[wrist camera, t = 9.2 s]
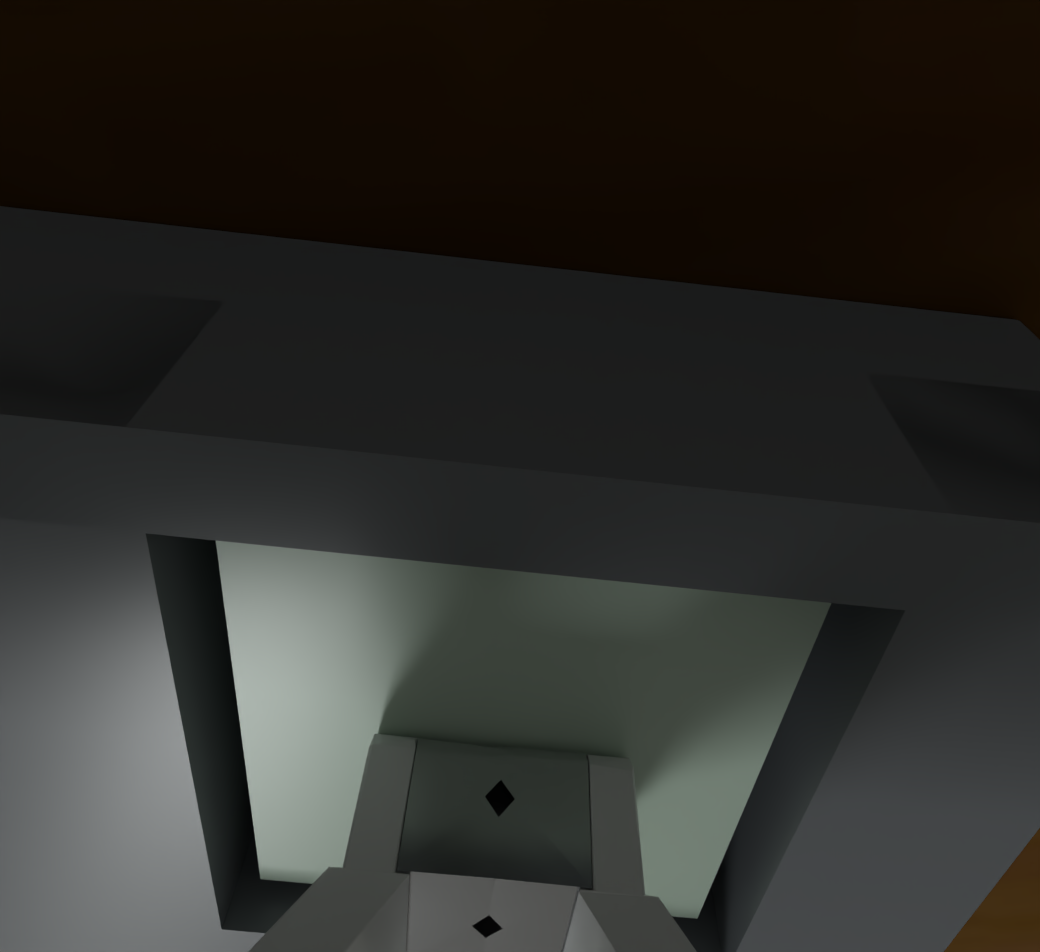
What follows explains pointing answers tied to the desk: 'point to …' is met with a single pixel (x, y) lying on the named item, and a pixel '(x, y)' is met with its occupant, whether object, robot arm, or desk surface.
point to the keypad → (502, 550)
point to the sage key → (503, 691)
